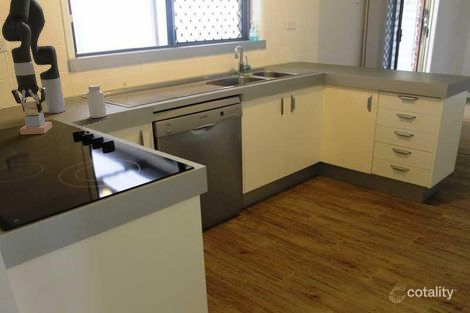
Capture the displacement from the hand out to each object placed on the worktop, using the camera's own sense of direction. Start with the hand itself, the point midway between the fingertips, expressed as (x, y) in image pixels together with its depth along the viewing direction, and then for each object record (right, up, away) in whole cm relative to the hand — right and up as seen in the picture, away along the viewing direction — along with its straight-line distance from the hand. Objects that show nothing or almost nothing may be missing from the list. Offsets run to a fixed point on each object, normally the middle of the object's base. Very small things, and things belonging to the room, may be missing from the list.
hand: (33, 112), depth 181 cm
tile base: (0, -8, +3) cm, 8 cm away
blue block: (0, -6, +2) cm, 6 cm away
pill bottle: (+21, 0, +24) cm, 32 cm away
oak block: (0, -1, 0) cm, 0 cm away
